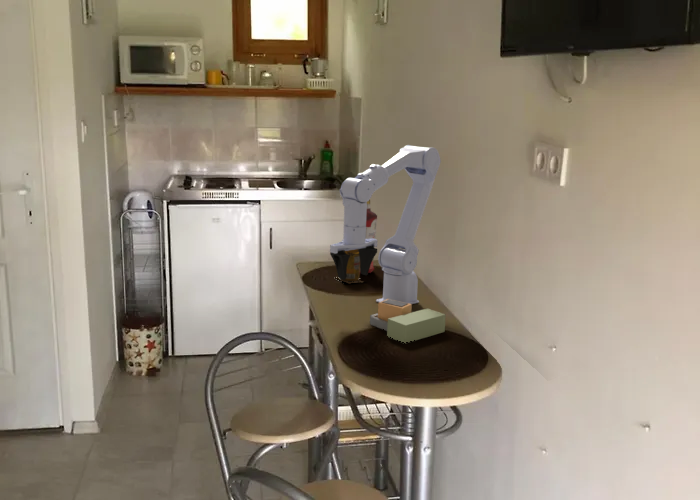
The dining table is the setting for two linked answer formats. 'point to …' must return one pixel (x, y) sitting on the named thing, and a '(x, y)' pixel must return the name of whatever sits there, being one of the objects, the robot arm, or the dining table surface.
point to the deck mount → (412, 325)
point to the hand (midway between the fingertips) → (353, 276)
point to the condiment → (353, 266)
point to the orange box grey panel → (392, 309)
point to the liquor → (370, 228)
